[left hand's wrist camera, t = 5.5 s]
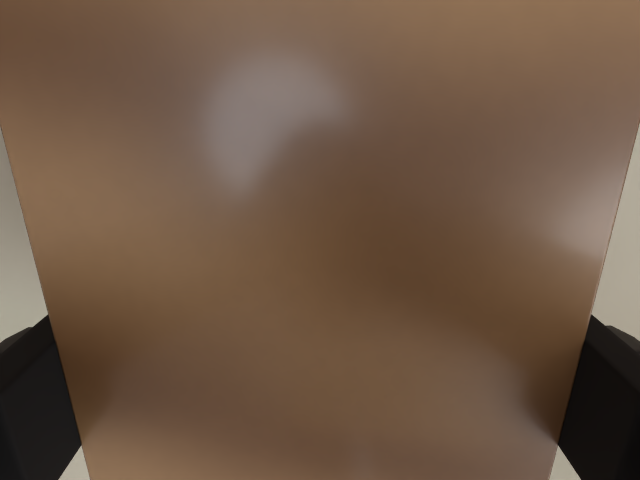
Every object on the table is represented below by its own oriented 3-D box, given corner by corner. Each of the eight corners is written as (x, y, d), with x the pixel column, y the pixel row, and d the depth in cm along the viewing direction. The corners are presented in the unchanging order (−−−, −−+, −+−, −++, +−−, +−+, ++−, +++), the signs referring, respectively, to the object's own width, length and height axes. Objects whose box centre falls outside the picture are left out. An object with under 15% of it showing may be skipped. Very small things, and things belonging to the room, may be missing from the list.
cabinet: (140, -273, 12) (-363, -1289, 3) (499, -273, 12) (1000, -1284, 3) (204, 320, 19) (100, 527, 10) (435, 320, 19) (538, 527, 10)
